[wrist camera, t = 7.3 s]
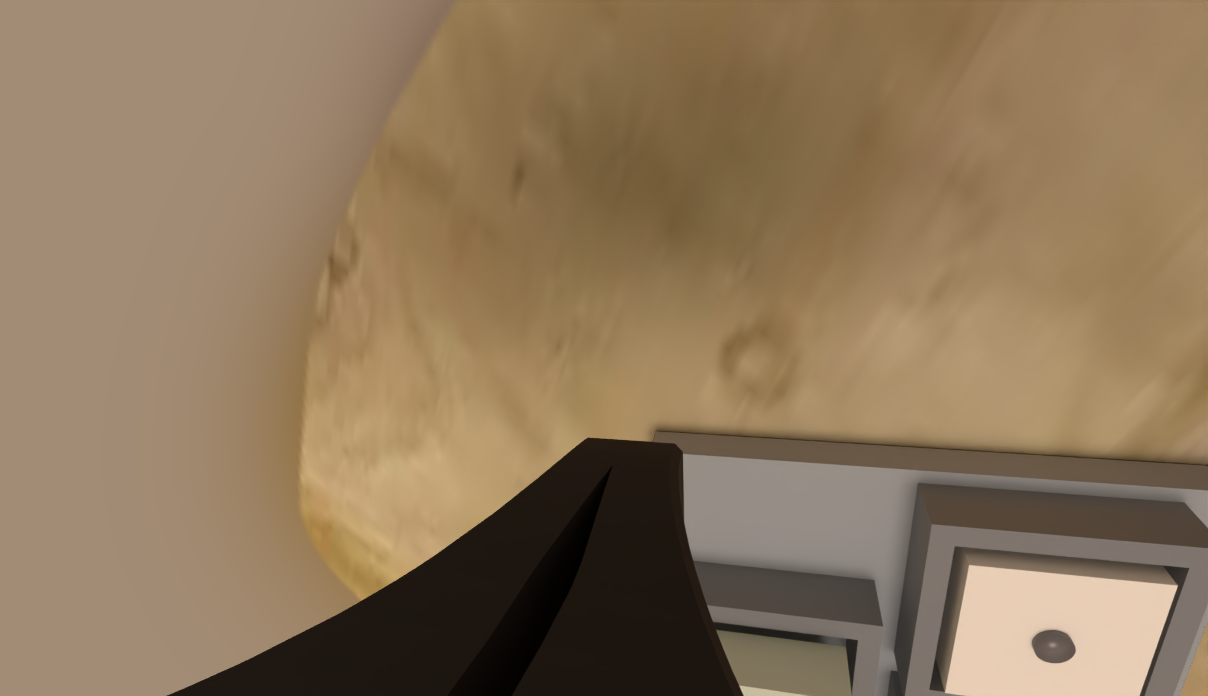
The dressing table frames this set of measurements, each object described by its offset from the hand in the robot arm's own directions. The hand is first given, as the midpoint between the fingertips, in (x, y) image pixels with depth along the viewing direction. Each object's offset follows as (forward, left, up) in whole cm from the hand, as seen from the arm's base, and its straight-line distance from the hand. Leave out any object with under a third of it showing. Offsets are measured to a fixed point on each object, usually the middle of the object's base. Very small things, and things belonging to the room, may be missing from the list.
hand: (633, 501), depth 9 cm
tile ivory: (-9, +9, -9) cm, 15 cm away
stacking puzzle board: (-6, +12, -10) cm, 17 cm away
